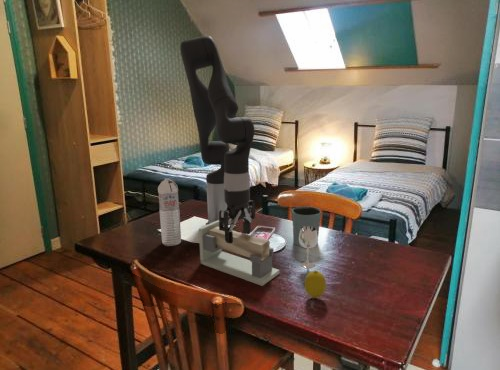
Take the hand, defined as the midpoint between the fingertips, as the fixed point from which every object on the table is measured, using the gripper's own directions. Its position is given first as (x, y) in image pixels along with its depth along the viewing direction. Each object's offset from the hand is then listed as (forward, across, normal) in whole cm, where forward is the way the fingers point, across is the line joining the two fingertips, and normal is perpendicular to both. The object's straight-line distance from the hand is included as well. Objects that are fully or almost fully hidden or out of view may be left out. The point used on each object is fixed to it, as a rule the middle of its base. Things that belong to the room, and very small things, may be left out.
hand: (238, 238), depth 119 cm
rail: (+4, 0, 0) cm, 4 cm away
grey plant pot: (+10, -30, +7) cm, 32 cm away
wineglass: (+10, -14, +16) cm, 24 cm away
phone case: (+11, -25, -10) cm, 29 cm away
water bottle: (+10, -2, -32) cm, 34 cm away
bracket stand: (+10, 0, 0) cm, 10 cm away
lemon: (+10, +2, +27) cm, 29 cm away
